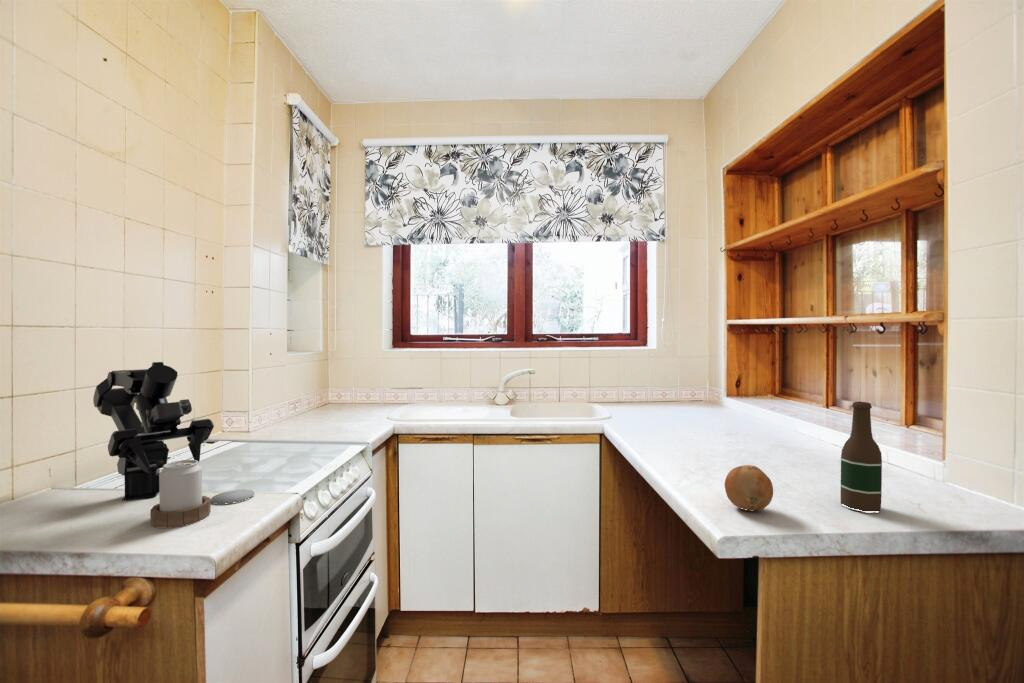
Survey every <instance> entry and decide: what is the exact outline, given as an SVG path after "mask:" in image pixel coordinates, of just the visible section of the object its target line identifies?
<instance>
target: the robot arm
mask: <svg viewBox="0 0 1024 683" xmlns="http://www.w3.org/2000/svg"><path fill="white" fill-rule="evenodd" d="M177 379H178V372H177V370H175V369H174V368H173V367H171V366H170V365H165V364H164V362H163V361H155V362H154V361H152V363H151V366H150V367H149V368H146V369H145V368H143V369H122V370H121V369H120V370H112V371H108V373H107V376H106V378H105V379H104V380H103V381H101V382H100V383H99V384H97V385H96V387H95V390H94V394H93V406H94V408H97V410H98V412H99V413H100V414H101V415H104V416H107V417H111V419H112V420H113V422H114V425H115V426H116V428H117V430H115V431H114V430H113V432H112V433H111V435H110V437H109V441H108V444H107V451H108V454H109V456H110V457H118V461H117V463H116V467H117V472H118V474H120V475H121V476H124V496H122V499H121V501H131V500H138V499H147V497H148V498H153V497H152V496H155V497H157V496H158V494H159V473H160V472H161V471H160V470H161V469H164V468H163V465H165V464H167V463H168V459H169V458H168V456H169V452H170V448H168V445H167V444H166V443H164V441H169V440H175V439H181V438H186V439H187V442H189V443H188V445H187V446H188V448H189V451H190V452H191V456H192V458H193V460H197V461H198V464H199V462H200V458H201V448H202V444H203V443H204V442H205V441H207V440H208V439H209V438H210V437H211V433H212V431H213V430H214V427H215V425H214V423H213V420H212V419H210V418H203V419H197V420H191V421H190V424H189V426H188V427H183V428H178V426H180V425H181V423H182V421H181V419H180V418H182V417H184V416H185V415H189V414H190V413H192V411H193V408H192V403H191V402H190V400H189V398H188V399H180V400H178V401H173V402H172V401H171V402H169V401H168V399H167V397H169V396H171V394H172V391H173V389H174V387H175V383H176V381H177ZM113 387H118V388H113ZM135 404H136V405H135ZM134 406H135V407H136V408H134ZM135 409H136V410H137V411H138V414H139V415H138V414H137V412H136V410H135ZM139 417H140V418H139Z"/></svg>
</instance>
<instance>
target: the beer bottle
mask: <svg viewBox="0 0 1024 683" xmlns="http://www.w3.org/2000/svg"><path fill="white" fill-rule="evenodd" d="M851 408H853V410H852V423H851V431H850V435H849V438H848V439H847V440H846V441H845V442H844V444H843V446H842V449H841V455H840V504H841V503H842V504H844V505H846V506H848V507H850V508H854V509H859V510H862V511H880V512H881V508H882V494H883V493H882V486H883V484H882V480H883V479H882V478H883V475H882V474H883V473H882V472H883V458H882V451H881V449H880V447H879V445H878V443H877V442H876V441H875V439H874V438H873V433H872V418H871V409H872V408H873V407H872V404H871V403H870V402H867V401H853V402H852V405H851Z"/></svg>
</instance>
